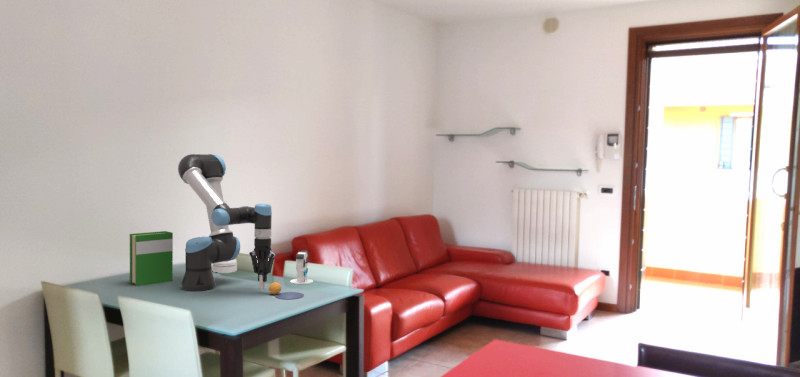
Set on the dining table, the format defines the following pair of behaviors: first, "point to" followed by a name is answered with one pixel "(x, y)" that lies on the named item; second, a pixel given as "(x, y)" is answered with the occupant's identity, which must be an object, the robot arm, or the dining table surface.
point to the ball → (274, 288)
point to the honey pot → (225, 266)
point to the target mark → (289, 295)
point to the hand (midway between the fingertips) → (262, 288)
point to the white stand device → (301, 269)
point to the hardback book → (151, 258)
